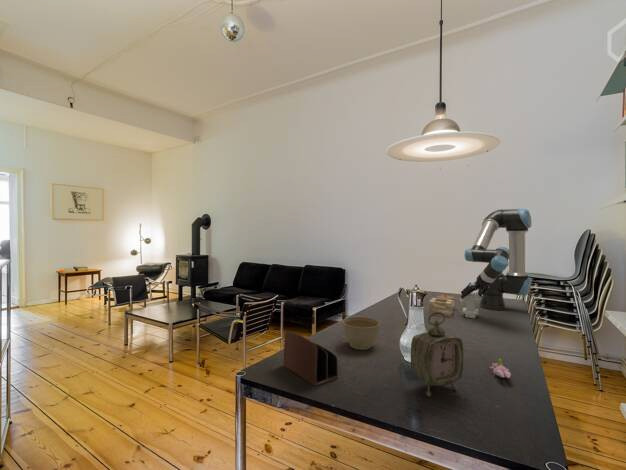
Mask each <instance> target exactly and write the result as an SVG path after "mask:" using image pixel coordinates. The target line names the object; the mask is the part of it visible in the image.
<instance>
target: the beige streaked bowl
mask: <svg viewBox="0 0 626 470" xmlns="http://www.w3.org/2000/svg"><path fill="white" fill-rule="evenodd" d="M428 301H429V302H428V304H429V305H428V315H429V316H430V315H431V314H432V313H435V312H441V313H443V314H444V315H445V318H451V317H452V315H453V307H454V306H453V300H449V299H440V298H437V297H432V298H431V299H430V300H428ZM435 316H436V317H437V316H438V317H443V315H441V314H436V315H435Z"/></svg>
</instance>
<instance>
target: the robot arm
mask: <svg viewBox="0 0 626 470" xmlns="http://www.w3.org/2000/svg"><path fill="white" fill-rule="evenodd" d="M531 227H532V216H531V214H530V211H529V210H528V209H526V208H525V209H524V208H511V209H497V210H494V211H492V212H491V213H489V214H488V215H487V216H486V217H485V218H484V219H483V221H482V224H481V229H480V230H479V233H478V234H477V237H476V239H475V241H474V243H473V245H472V247H471V248H467V249H465V251H464V259H465V260H466V261H467V262H472V263H487V265H486V266H485V268H484V269H483V270H482V271H481V272H480V273H479V275H478V276H476V281H474V282H473V283H472V282H469V283H468V284H467V286H465V288H463V289H462V290H461V291H460V293H461V296H460V297H459V298H458V299H459V301H460V303H461V304H463V303H464V301H466V298H467V295H469V294H470V293H475V302H476V301H477V299H479V298H480V301H479V307H480V308H482V309H487V310H492V311H505V310H506V309H507V306H506V305H507V304H506V302H505V298H504V294H507V295H508V294H509V295H517V296H527V295H529V293H530V291H531V287H532V277H529V273H528V272H526V233H527V232H529V229H530V228H531ZM504 228H505V232H506V233H508V248H507V247H506V246H498V247H496V248H495V249H488V247H489V245H490V243H491V240H492V239H493V237H494V235H495V232H496V231H497V230H498V229H504ZM507 267H508V268H509V269H508V271H507V272H506V273H505V274H506V275H505V274H504V273H503V272H504V271H505V270H506V269H507ZM475 291H476V292H475Z"/></svg>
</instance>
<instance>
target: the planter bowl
mask: <svg viewBox="0 0 626 470" xmlns="http://www.w3.org/2000/svg"><path fill="white" fill-rule="evenodd" d="M380 325H381V324H380V321H379V320H377V319H375V318H372V317H367V316H349V317H345V318H344V319H343V320H342V328H343V333H344V334H343V335H344V336H345V338H346V340H347V342H348V343H349V346H350V347H351V348H352V349H355V350H361V351H362V350H363V351H364V350H369V349H371V348H372V347H373V344H374V342H375V341H376V339H377V338H378V335H379V331H380V330H379V329H380Z"/></svg>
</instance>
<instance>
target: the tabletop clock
mask: <svg viewBox="0 0 626 470" xmlns="http://www.w3.org/2000/svg"><path fill="white" fill-rule="evenodd" d="M436 314H441V315H443V316H442V318H443V319H442V320H441V321H440V322H439V321H438V320H435V321H434V322H433V323H432V322H431V321H430V320H431V317H433V316H436ZM445 320H446V317H445V315H444V314H443V313H441V312H435V313H432V314H431V315H429V316H428V318H427V321H428V322H427V323H428V324H429V325H431V326H430V327H429V328H428V331H426V332H422V333H418V334H416V335H414V336H412V340H411V342H410V367H411V370H412V372H413V375H414V377H417V378H418V379H419V380H422V381H423V382H424V383H426V385H427V390H426V391H425V395H426V397H431V396H432V393H431V391H430V389H431V388H432V387H441V386H447V385H450V384H451V386H450V387H451V389H452V390H453V391H456V390H457V388H458V387H457V385H456V384H455V382H457V381H459V380H460V379H461V378H462V375H463V374H462V373H463V369H464V347H463V345H464V344H463V341H462V339H461V338H459V337H457V336H453V335H451V334H449V333H447V332H445V330H444V328H443V326H440V325H442V324H444V322H445Z"/></svg>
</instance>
